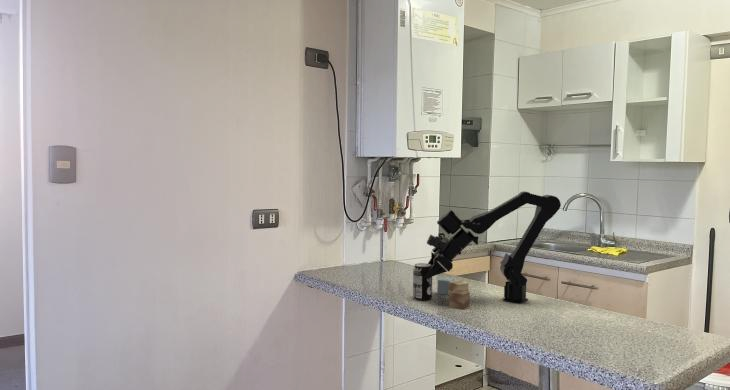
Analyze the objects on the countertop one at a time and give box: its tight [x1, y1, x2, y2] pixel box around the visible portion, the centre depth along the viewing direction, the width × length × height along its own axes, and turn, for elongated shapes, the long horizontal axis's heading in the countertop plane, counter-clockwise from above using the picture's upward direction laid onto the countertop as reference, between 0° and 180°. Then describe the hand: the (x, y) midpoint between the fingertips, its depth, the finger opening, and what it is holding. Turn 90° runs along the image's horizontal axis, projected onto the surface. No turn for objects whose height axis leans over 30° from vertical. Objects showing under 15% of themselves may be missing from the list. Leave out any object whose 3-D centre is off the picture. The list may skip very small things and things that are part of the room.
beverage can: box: [412, 262, 433, 302], centre depth 183 cm, size 7×7×12 cm
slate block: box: [437, 277, 455, 296], centre depth 192 cm, size 5×5×5 cm
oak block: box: [448, 279, 470, 296], centre depth 187 cm, size 5×5×5 cm
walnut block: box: [448, 289, 471, 310], centre depth 173 cm, size 5×5×5 cm
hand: (424, 274), depth 183 cm, fingers open, 9 cm apart
